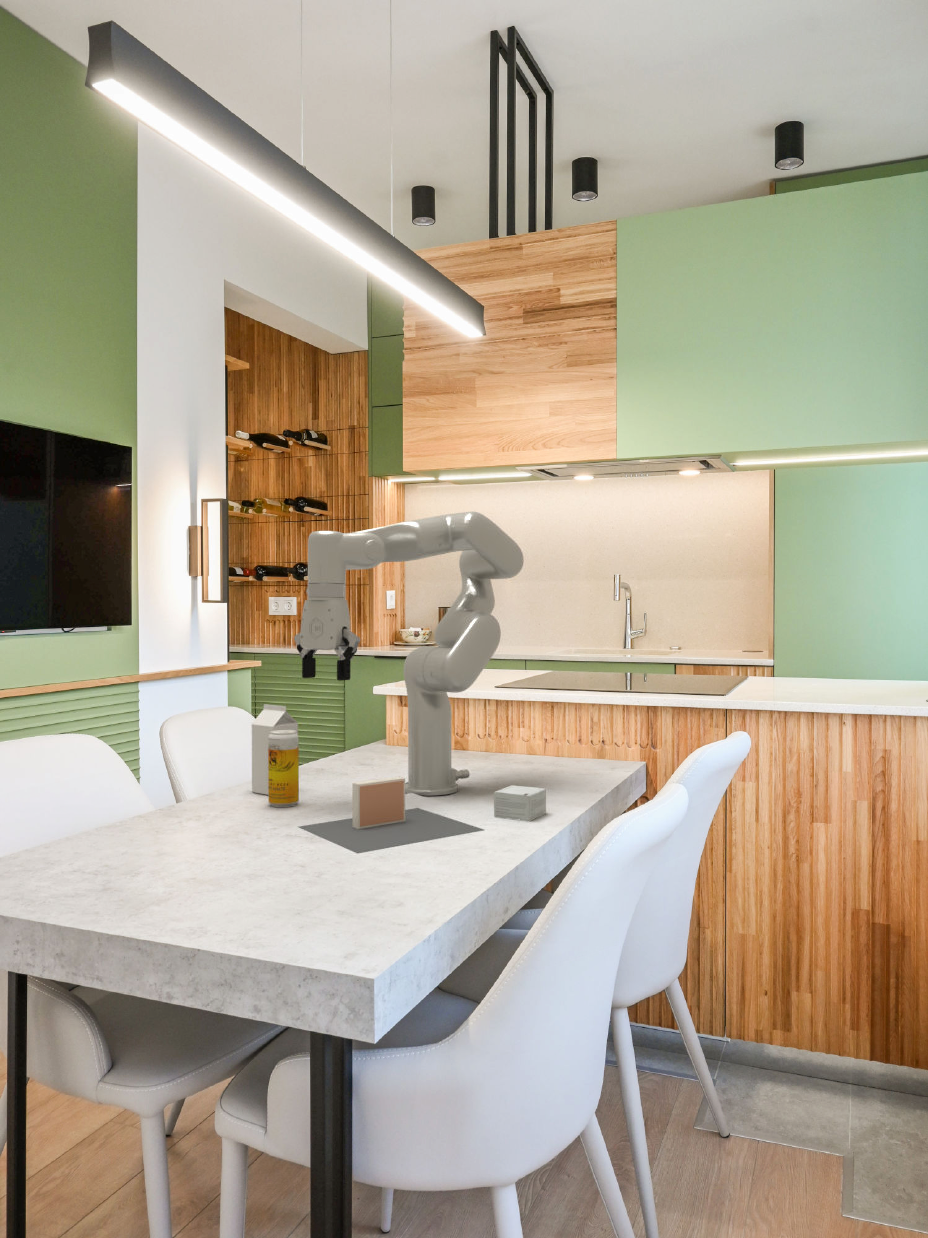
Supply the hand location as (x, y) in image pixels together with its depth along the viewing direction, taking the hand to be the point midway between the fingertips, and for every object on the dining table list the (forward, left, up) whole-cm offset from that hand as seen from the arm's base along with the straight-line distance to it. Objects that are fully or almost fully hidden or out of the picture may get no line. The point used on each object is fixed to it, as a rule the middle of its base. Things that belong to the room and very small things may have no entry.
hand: (325, 678), depth 182 cm
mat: (-1, +23, -26) cm, 35 cm away
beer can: (+5, -9, -26) cm, 28 cm away
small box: (-28, +27, -27) cm, 47 cm away
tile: (-1, +19, -26) cm, 32 cm away
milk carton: (+1, -22, -26) cm, 34 cm away
